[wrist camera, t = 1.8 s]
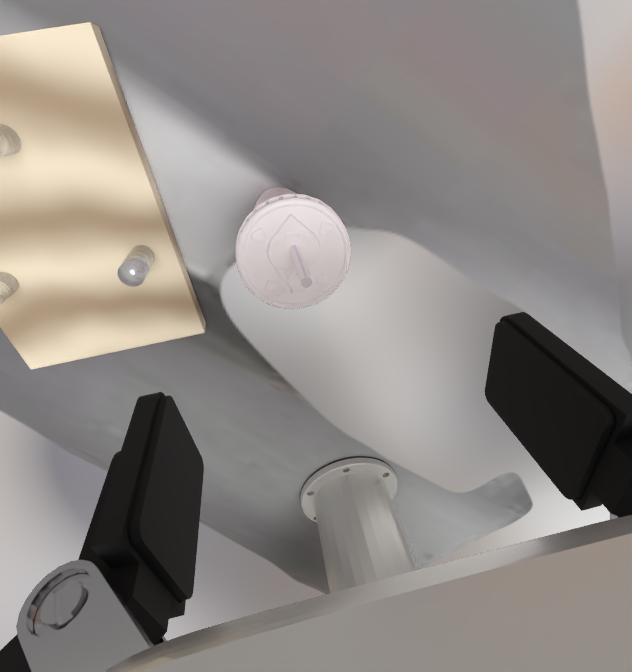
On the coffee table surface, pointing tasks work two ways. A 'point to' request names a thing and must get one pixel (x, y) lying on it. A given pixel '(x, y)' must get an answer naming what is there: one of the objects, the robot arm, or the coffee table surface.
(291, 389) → the coffee table surface
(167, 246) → the pin board
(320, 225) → the smoothie
